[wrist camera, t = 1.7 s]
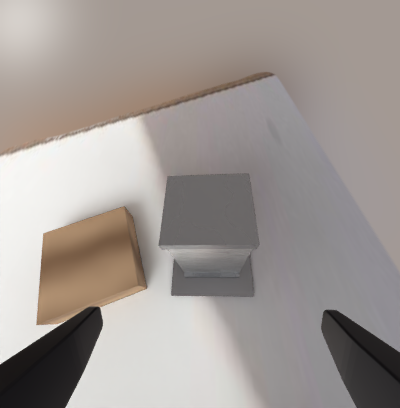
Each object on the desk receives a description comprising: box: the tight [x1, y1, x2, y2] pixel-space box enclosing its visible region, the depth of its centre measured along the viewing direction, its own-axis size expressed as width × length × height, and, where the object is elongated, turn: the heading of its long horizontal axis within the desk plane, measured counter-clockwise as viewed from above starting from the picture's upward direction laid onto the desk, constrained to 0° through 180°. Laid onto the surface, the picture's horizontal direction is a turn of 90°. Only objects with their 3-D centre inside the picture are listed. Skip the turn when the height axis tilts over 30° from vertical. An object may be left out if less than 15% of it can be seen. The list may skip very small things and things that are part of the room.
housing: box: [159, 174, 259, 278], centre depth 16 cm, size 5×5×10 cm
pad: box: [171, 255, 254, 297], centre depth 21 cm, size 8×8×1 cm
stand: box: [37, 207, 147, 325], centre depth 20 cm, size 9×9×2 cm
